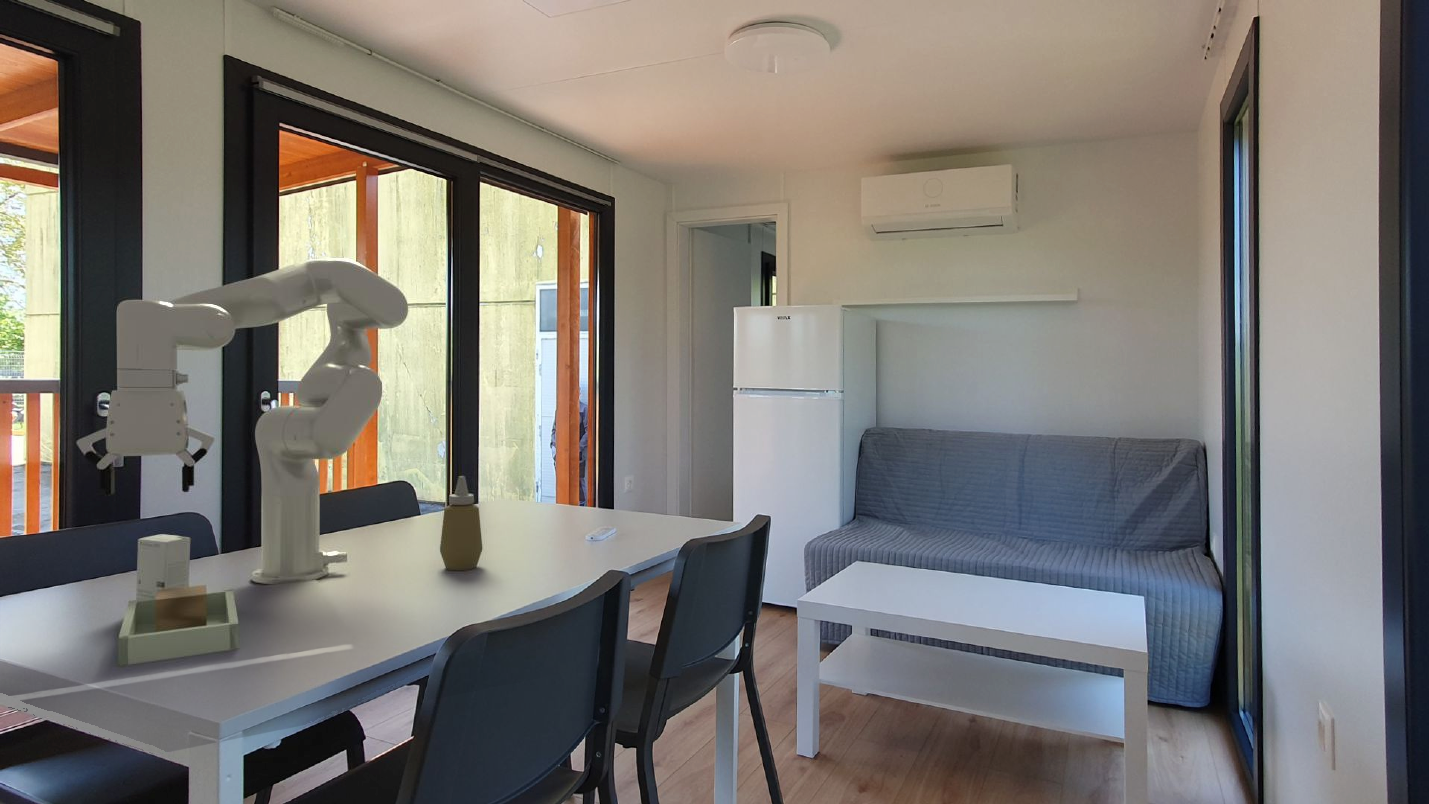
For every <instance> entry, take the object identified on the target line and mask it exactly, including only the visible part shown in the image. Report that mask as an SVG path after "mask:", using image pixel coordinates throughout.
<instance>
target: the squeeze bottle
mask: <svg viewBox="0 0 1429 804" xmlns="http://www.w3.org/2000/svg"><path fill="white" fill-rule="evenodd" d="M448 498H449V499H448V503H449V505H447V506H446V507H445V508H444V509H443V518H442V519H443V520H442V526H441V537H440V545H439V553H440V556H441V558H442V561H443V564H444V568H445V569H446V570H451V571H467V570H471V569H475V568H476V567H477V566H478V564H479V560H480V558H481V555H482V552H483V541H482V540H483V539H482V532H481V531H482V529H481V519H480V510H479V509H480V507H478V506H477V505H475V504H474V503H475V496H474V494H473V493H469V490H468V484H467V480H466V475H465V476H464V475H460V476H458V478H457V483H456V487H455V491H454V494H449V497H448Z"/></svg>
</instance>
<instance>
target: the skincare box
mask: <svg viewBox="0 0 1429 804" xmlns="http://www.w3.org/2000/svg"><path fill="white" fill-rule="evenodd" d="M190 554H191V537H187V536H180V535H175V534H172V535H170V534H164V533H162V534H155V535H150V536H145V537H142V538H139V539H137V559H136V561H137V563H136V565H137V567H136V589H135V590H136V593H135V594H136V595H135V600H142V599H151V598H156V596H157V591H158V590H163V589H172V588H182V587H190V586H189V585H190Z"/></svg>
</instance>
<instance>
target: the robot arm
mask: <svg viewBox="0 0 1429 804" xmlns="http://www.w3.org/2000/svg"><path fill="white" fill-rule="evenodd" d="M322 305H326V315H327V320H328V324H329V331H330V339H329V342H328V345H327V346H326V347H325V349H324V350H323V351H322V353H321V354H320V355H319V356H318V358H317V359H316V360H315V361H314V363H313V364H312V365H311V366H310V368H309V369H308V370H307V371H306V373H305V374H304V375H303V376H302V378H301V379H300V381H299V383H298V384H297V387H296V391H295V396H296V400H297V402H298V404H299V405H282V406H281V405H280V406H276V407H273V408H270V409H268V410H267V411H265V412H264V413H263V414H262V415H261V416H260V417H259V418H258V420H257V421H256V425H255V430H254V437H255V444H256V448H257V449H256V450H257V454H258V458H259V463H260V473H261V474H260V475H261V505H260V506H261V510H260V512H261V514H260V515H261V518H260V519H261V525H260V527H261V535H260V536H261V558H260V559H261V568H258V569H256V570H254V571H253V572H251V580H252V581H253V582H254V583H257V584H258V583H259V584H264V585H280V584H290V583H300V582H309V581H315V580H317V579H321V578H324V577H325V576H327V575H328V574H329V570H330V568H329V564H339V563H340V564H341V563H347V562H348V554H347V552H346V551H344V552H338V551H331V552H325V551H323V549H322V548H321V546H320V492H321V484H320V483H321V481H320V476H319V471H318V468H317V466H316V464H315V461H314V460H321V461H322V460H334V459H337V458H339V457H341V456H342V455H344V454H345V453H346V452H347V451H348V450H349V449H350V448H351V447H352V446H353V444H354V443H355V442H356V440H357V439H358V437H359V436H360V435H361V433H362V432H363V430H364V429H365V427H366V426H367V425H368V423H369V422H370V420H371V419H372V417H373V416H374V414H375V413H376V411H377V410H378V408H379V406H380V403H381V402H382V401H381V400H382V397H383V385H382V380H381V378H380V376H379V374H377V372H376V371H375V370H373V369H372V368H370V365H371V363H372V358H373V355H372V354H373V353H372V348H371V346H370V341H369V338H368V334H367V331H366V330H371V329H372V330H382V329H384V330H386V329H387V330H388V329H394V328H396V327H400V326H401V325H402V324H403V323H404V322H405V320H406V319H407V317H408V313H409V305H408V300H407V298H406V296H405V295H404V293H403V292H402V291H401V290H400V289H399V287H397V286H396V285H394V284H392V283H391V282H390V281H389V280H386V279H385V278H383V277H382V276H381V275H379V274H377V273H376V272H375V271H373V270H371V269H369V268H367V267H366V266H364V265H363V264H361V263H359V262H357V261H354V260H352V259H348V258H344V257H343V258H342V257H339V258H336V257H335V258H317V259H316V258H315V259H308V260H304V261H300V262H297V263H294V264H291V265H288V266H285V267H282V268H279V269H276V270H273V271H270V272H267V273H265V274H260V275H258V276H255V277H252V278H248V279H244V280H239V281H235V282H232V283H229V284H224V285H221V286H217V287H213V288H209V289H204V290H201V291H197V292H193V293H190V294H186V295H183V296H180V297H177V298H175V299H171V300H168V301H161V300H151V299H127V300H123V301H121V302H120V303H118V305H117V307H116V308H117V309H116V377H117V378H116V386H117V389H116V390H112V391H111V393H110V397H109V402H108V403H109V404H108V408H107V417H106V427H105V428H103V429H100V430H98V431H96V432H93V433H91V434H87V435H86V436H84V437H82V438H79V439H78V440H76V445H77V446H78V448H79V450H80V451H81V453H82V454H83V455H84V457H85V458H86V459H87V460H88V461H89V462H90V463H92V464H93V465H95V467H97V469H99V480H100V481H99V482H100V483H99V488H100V491H104V495H105V497H108V496H109V497H110V496H112V495H113V494H114V493H116V492H115V491H116V490H115V489H116V487H115V483H116V482H115V479H116V478H115V467H113V463H114V462H115V460H117V459H118V458H119V457H139V456H140V457H141V456H142V457H143V456H144V457H145V456H170V455H171V456H172V455H176V456H177V457H178V459H179V460H181V461H182V462H183V466H182V467H181V491H182V492H183V493H188V492H189V491H190V489H191V488H190V487H194V486H195V465H196V464H197V463H198V462H199V461H200V460H201V459H202V458H204V457H205V456H206V455H207V454H208V452H209V450H210V448H211V447H212V445H213V443H214V442H215V440H216V439H215V436H212V435H210V434H209V433H205V432H203V431H201V430H198V429H196V428H194V427H191V426H189V421H188V419H189V418H188V409H187V402H186V397H185V394H184V393H185V392H184V390H178V387H179V385H181V384H182V385H183V383H184V384H189V374H183V373H180V372H179V371H178V351H215V350H218V349H220V348H223V347H224V346H226V345H228V344H229V343H230V342H231V341H232V340H233V338H234V336H235V333H236V330H237V329H242V328H243V329H245V328H255V327H262V326H267V325H272V324H276V323H280V322H282V321H284V320H287V319H290V318H291V317H294V316H297V315H299V314H301V313H303V312H304V313H305V312H306V311H308V310H311V309H313V308H316V307H319V306H322ZM189 437H190V438H193V439H195V440H198V441H200V442H201V445H200V447H199V449H198V450H197V451H195V453H193V454H192V453H191V452H190V451H189V450H188V448H189V442H190V441H189ZM102 439H105V447H106V451H107V453H106V454H105V456H104V455H103V456H102V455H101V454H100V453H98V452H97V451H96V450H95V449H94V447H93V443H96V442H98V441H100V440H102Z"/></svg>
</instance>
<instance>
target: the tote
mask: <svg viewBox="0 0 1429 804" xmlns="http://www.w3.org/2000/svg"><path fill="white" fill-rule="evenodd" d="M206 594H207V626H200V627H192V628H184V629H177V630H169V631H161V632H156V598H151V599H142V600H136V599H135V600H129V601H128V603H127V607H126V610H125V612H124V613H125V614H124V618H123V620H122V623H121V627H120V630H119V635H118V638H117V664H118V665H117V666H118V667H124V666H130V665H131V666H132V665H138V664H144V663H150V662H157V661H165V660H171V659H172V660H173V659H179V658H186V657H193V656H199V655H206V654H207V655H208V654H212V653H214V654H215V653H219V652H220V653H221V652H225V651H226V652H227V651H233V650H239V648H240V647H239V642H240V641H239V632H240V631H239V618H238V613H237V608H236V602H235V595H234V590H233V589H225V590H216V591H215V590H214V591H206Z"/></svg>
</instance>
